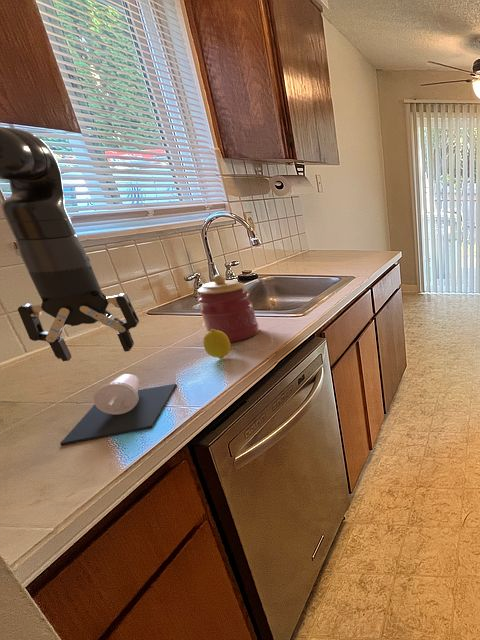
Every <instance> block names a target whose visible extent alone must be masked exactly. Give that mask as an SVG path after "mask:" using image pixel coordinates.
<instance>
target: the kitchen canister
mask: <svg viewBox="0 0 480 640" xmlns="http://www.w3.org/2000/svg"><path fill="white" fill-rule="evenodd" d="M197 293H199V295H198V297H197V298H196V302H197V303H199V305H200V311H199V312H200V314H201V316H202V320H203V322H204V325H205V328H206V333H208V332H209V331H211V329H215V330H219V331H222V332H224V333H225V334H226V335H227V337H228V338H229V340H230V343H232V342H233V343H234V342H238V341H243V340H246V339H250V338H251V337H254V336H255V335H257V334H258V333H259V326H260V325H259V322H258V321H257V317H256V314H255V310H254V304H253V302H252V301H251V299H250V295H251V292H250V291H249V290H247V289H245V284H244V283H242V282H240V281H238V280H236V279H225V277H224V276H223V275H221V274H215V275H214V276H213V281H210V282H206V283H203V284H202V285H201V287H199V288H198V289H197Z"/></svg>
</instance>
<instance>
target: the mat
mask: <svg viewBox="0 0 480 640" xmlns="http://www.w3.org/2000/svg"><path fill="white" fill-rule="evenodd" d="M176 387H177V383H172V384H165V385H159V386H154V387H147V388H141V389H138V395H139V400H138V403H137V405H136V406H135V407H134V408H133V409H132V410H131V411H129V412H127V413H124V414H119V415H112V414H107V413H104V412H102V411H101V410H99V409H98V408H97V407H96V406H95V404H94V405H93V406H91V408H90V409H89V410H88V411H87V413H86V414H85V415H84V416H83V417H82V418H81V420H80V421H78V422H77V424H76V425H75V426H74V427H73V428H72V429H71V430H70V431H69V433H68V434H67V435H66V436H65V437H64V438H63V439H62V441H60V443H59V444H60V446H65V445H66V446H67V445H70V444H77V443H82V442H87V441H92V440H97V439H102V438H107V437H112V436H113V437H114V436H118V435H123V434H127V433H132V432H138V431H143V430H149V429H153V427H154V426H155V424H156V422H157V421H158V419H159V417H160V416H161V414H162V412H163V410H164V409H165V407H166V405H167V403H168V402H169V400H170V399H171V396H172V395H173V393H174V392H175V390H176Z"/></svg>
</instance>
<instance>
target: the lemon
mask: <svg viewBox="0 0 480 640" xmlns="http://www.w3.org/2000/svg"><path fill="white" fill-rule="evenodd" d="M202 343H203V346H204V350H205V352H206V353H207V355H208V356H211V357H213V358H217V359H219V360H224V358H225V357H226V356H227V355H228V354H229V353H230V351H231V348H232V347H231V346H232V345H231V342H230V340H229V338H228V337H227V335H226V334H225V333H224V332H222V331H219V330H215V329H211V331H209V332H208V333H207V332H206V333H205V334H204V336H203V342H202Z"/></svg>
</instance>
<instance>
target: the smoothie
mask: <svg viewBox="0 0 480 640" xmlns="http://www.w3.org/2000/svg"><path fill="white" fill-rule="evenodd" d="M139 387H140V379H139V377H137V376H136V375H135V374H131V373H123V374H120V375H119V376H117V377H116V378H114V379H113V380H112V381H110V382H107V383H105V384H102V385H101V386H100V387H98V388H97V390H96V391H95V393H94V395H93V404H94V405H95V406H96V407H97V408H98V409H99V410H101V411H102V412H104V413H107V414H112V415H119V414H124V413H127V412H129V411H131V410H132V409H133V408H134V407H135V406H136V405H137V403H138V400H139V395H138V390H139V389H140V388H139Z"/></svg>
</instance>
